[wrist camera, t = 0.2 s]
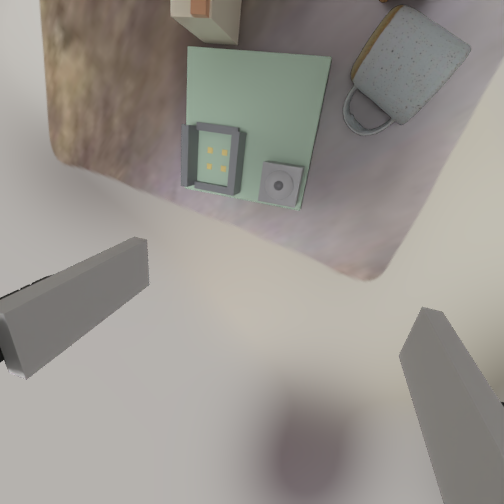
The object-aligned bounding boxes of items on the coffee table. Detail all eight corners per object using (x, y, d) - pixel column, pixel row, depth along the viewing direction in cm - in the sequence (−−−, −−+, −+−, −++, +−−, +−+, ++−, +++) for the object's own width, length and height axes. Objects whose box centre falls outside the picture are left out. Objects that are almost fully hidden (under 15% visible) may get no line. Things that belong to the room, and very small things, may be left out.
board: (192, 49, 34) (187, 46, 33) (331, 59, 31) (331, 56, 30) (188, 187, 42) (184, 188, 41) (300, 208, 38) (299, 210, 37)
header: (192, 121, 37) (181, 119, 34) (247, 128, 35) (239, 127, 32) (190, 186, 40) (180, 189, 38) (239, 195, 39) (233, 199, 36)
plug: (206, -3, 32) (165, -50, 24) (241, -2, 31) (210, -51, 23) (204, 43, 34) (166, 12, 26) (237, 45, 33) (207, 14, 25)
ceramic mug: (391, 15, 28) (408, -24, 21) (453, 61, 28) (490, 37, 21) (326, 111, 33) (323, 105, 26) (378, 150, 33) (389, 153, 26)
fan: (268, 160, 36) (262, 162, 33) (304, 166, 35) (302, 168, 32) (263, 196, 38) (256, 201, 35) (297, 203, 37) (294, 208, 34)
